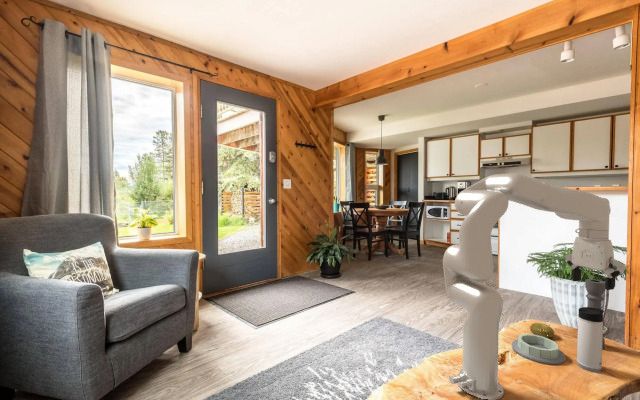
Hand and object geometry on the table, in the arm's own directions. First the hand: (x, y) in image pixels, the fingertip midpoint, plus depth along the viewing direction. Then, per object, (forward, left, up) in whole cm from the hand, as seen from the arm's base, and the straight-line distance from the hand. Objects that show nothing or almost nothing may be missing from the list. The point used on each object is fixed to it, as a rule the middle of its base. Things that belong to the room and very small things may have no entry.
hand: (592, 284), depth 102 cm
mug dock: (-8, +12, -28) cm, 32 cm away
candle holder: (+18, +10, -28) cm, 35 cm away
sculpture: (+7, +22, -29) cm, 37 cm away
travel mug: (0, 0, -28) cm, 28 cm away
